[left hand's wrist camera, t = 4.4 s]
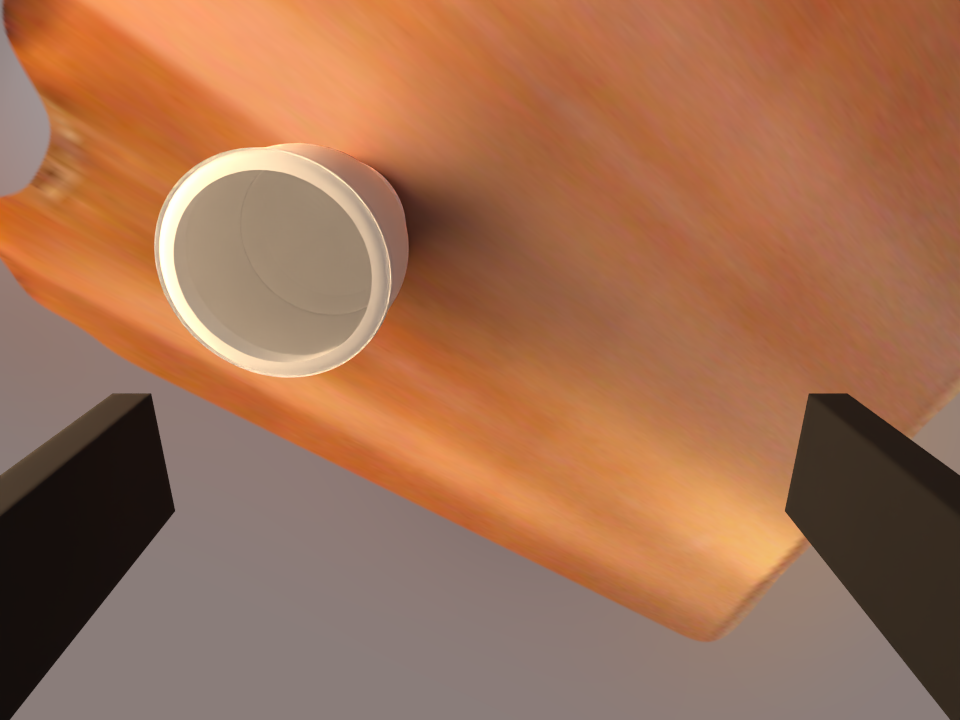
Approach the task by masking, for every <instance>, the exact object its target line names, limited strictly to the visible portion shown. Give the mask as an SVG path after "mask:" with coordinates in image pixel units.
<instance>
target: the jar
mask: <svg viewBox="0 0 960 720" xmlns="http://www.w3.org/2000/svg"><path fill="white" fill-rule="evenodd" d="M154 251H155V262H156V268H157V273H158V277H159V280H160V283H161V286H162V289H163V291H164V294H165V296H166V298H167V300H168V302H169V304H170V306H171V308H172V309H173V311H174V313H175V314H176V316H177V317H178V318H179V320H180V321H181V323H182V324H183V325H184V326H185V327H186V329H187V330H188V331H189V332H190V333H191V334H192V335H193V336H194V337H195V338H196V339H197V340H198V341H199V342H200V343H201V344H202V345H204V346H205V347H206V348H207V349H209V350H210V351H211V352H213V353H214V354H216V355H217V356H219V357H221V358H222V359H224V360H226V361H228V362H229V363H231V364H233V365H236V366H238V367H240V368H243V369H245V370H248V371H251V372H255V373H258V374H263V375H268V376H274V377H304V376H311V375H315V374H319V373H323V372H326V371H328V370H331V369H333V368H336V367H338V366H340V365H342V364H343V363H345V362H347V361H348V360H350V359H351V358H352V357H354V356H355V355H356V354H357V353H359V352H360V351H361V350H362V349H363V348H364V347H365V346H366V345H367V344H368V343H369V342H370V341H371V339H372V338H373V337H374V336H375V334H376V333H377V331H378V330H379V328H380V327H381V325H382V323H383V321H384V319H385V317H386V314H387V312H388V309H389V308H390V306H391V305H392V303H393V302H394V300H395V298H396V297H397V295H398V293H399V291H400V288H401V286H402V283H403V280H404V277H405V274H406V269H407V264H408V255H409V243H408V233H407V228H406V220H405V214H404V210H403V206H402V204H401V201H400V199H399V197H398V195H397V193H396V191H395V190H394V188H393V187H392V186H391V184H390V183H389V182H388V181H387V180H386V179H385V178H384V177H383V176H382V175H381V174H380V173H379V172H377V171H376V170H375V169H373V168H372V167H370V166H368V165H366V164H364V163H362V162H360V161H358V160H357V159H355V158H353V157H351V156H349V155H347V154H345V153H343V152H340V151H338V150H335V149H332V148H329V147H325V146H320V145H315V144H306V143H288V144H279V145H274V146H269V147H259V148H242V149H235V150H230V151H226V152H223V153H220V154H217V155H215V156H212V157H210V158H208V159H206V160H204V161H202V162H201V163H199V164H197V165H196V166H194V167H193V168H192V169H190V170H189V171H188V172H187V173H186V174H185V175H184V176H183V177H182V178H181V179H180V180H179V181H178V182H177V183H176V184H175V186H174V187H173V188H172V190H171V191H170V193H169V194H168V196H167V198H166V200H165V202H164V204H163V206H162V209H161V211H160V214H159V217H158V221H157V225H156V231H155V242H154Z"/></svg>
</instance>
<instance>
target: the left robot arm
mask: <svg viewBox="0 0 960 720" xmlns="http://www.w3.org/2000/svg"><path fill="white" fill-rule="evenodd" d="M174 512H175V508H174V503H173V498H172V493H171V489H170V484H169V479H168V474H167V469H166V464H165V459H164V454H163V450H162V445H161V440H160V435H159V430H158V425H157V420H156V415H155V410H154V405H153V401H152V396H151V394H111V395H110V396H109V397H107V398H106V399H105V400H103V401H102V402H101V403H99V404H98V405H96V406H95V407H94V408H92V409H91V410H89V411H88V412H87V413H85V414H84V415H83V416H81V417H80V418H78V419H77V420H76V421H74V422H73V423H72V424H70V425H69V426H67V427H66V428H65V429H63V430H62V431H61V432H59V433H58V434H57V435H55V436H54V437H52V438H51V439H50V440H48V441H47V442H46V443H44V444H43V445H41V446H40V447H39V448H37V449H36V450H35V451H33V452H32V453H30V454H29V455H28V456H26V457H25V458H24V459H22V460H21V461H20V462H18V463H17V464H15V465H14V466H13V467H11V468H10V469H8V470H7V471H6V472H4V473H3V474H2V475H0V720H10V719H11V717H12V716H13V715H14V714H15V712H16V711H17V710H18V709H19V707H20V706H21V705H22V704H23V702H24V701H25V700H26V699H27V697H28V696H29V695H30V693H31V692H32V691H33V690H34V688H35V687H36V686H37V685H38V683H39V682H40V681H41V680H42V678H43V677H44V676H45V675H46V673H47V672H48V671H49V669H50V668H51V667H52V666H53V664H54V663H55V662H56V661H57V659H58V658H59V657H60V656H61V654H62V653H63V652H64V651H65V649H66V648H67V647H68V645H69V644H70V643H71V642H72V640H73V639H74V638H75V637H76V635H77V634H78V633H79V632H80V630H81V629H82V628H83V627H84V625H85V624H86V623H87V622H88V620H89V619H90V618H91V616H92V615H93V614H94V613H95V611H96V610H97V609H98V608H99V606H100V605H101V604H102V603H103V601H104V600H105V599H106V598H107V596H108V595H109V594H110V593H111V591H112V590H113V589H114V587H115V586H116V585H117V584H118V582H119V581H120V580H121V579H122V577H123V576H124V575H125V574H126V572H127V571H128V570H129V569H130V567H131V566H132V565H133V563H134V562H135V561H136V560H137V558H138V557H139V556H140V555H141V553H142V552H143V551H144V550H145V548H146V547H147V546H148V545H149V543H150V542H151V541H152V539H153V538H154V537H155V536H156V534H157V533H158V532H159V531H160V529H161V528H162V527H163V526H164V524H165V523H166V522H167V521H168V519H169V518H170V517H171V515H172V514H173V513H174ZM785 512H786V513H787V514H788V516H789V517H790V518H791V519H792V521H793V522H794V523H795V524H796V526H797V527H798V528H799V529H800V531H801V532H802V533H803V534H804V536H805V537H806V538H807V539H808V541H809V542H810V543H811V545H812V546H813V547H814V548H815V550H816V551H817V552H818V553H819V555H820V556H821V557H822V558H823V560H824V561H825V562H826V563H827V565H828V566H829V567H830V568H831V570H832V571H833V572H834V574H835V575H836V576H837V577H838V579H839V580H840V581H841V582H842V584H843V585H844V586H845V587H846V589H847V590H848V591H849V593H850V594H851V595H852V596H853V598H854V599H855V600H856V601H857V603H858V604H859V605H860V606H861V608H862V609H863V610H864V611H865V613H866V614H867V615H868V616H869V618H870V619H871V620H872V621H873V623H874V624H875V625H876V627H877V628H878V629H879V630H880V632H881V633H882V634H883V635H884V637H885V638H886V639H887V640H888V642H889V643H890V644H891V646H892V647H893V648H894V649H895V651H896V652H897V653H898V654H899V656H900V657H901V658H902V659H903V661H904V662H905V663H906V664H907V666H908V667H909V668H910V670H911V671H912V672H913V673H914V675H915V676H916V677H917V678H918V680H919V681H920V682H921V683H922V685H923V686H924V687H925V688H926V690H927V691H928V692H929V693H930V695H931V696H932V697H933V699H934V700H935V701H936V702H937V704H938V705H939V706H940V707H941V709H942V710H943V711H944V712H945V714H946V715H947V716H948V717H949V719H950V720H960V475H958V474H957V473H956V472H954V471H953V470H952V469H950V468H949V467H947V466H946V465H945V464H943V463H942V462H941V461H939V460H938V459H936V458H935V457H934V456H932V455H931V454H929V453H928V452H927V451H925V450H924V449H923V448H921V447H920V446H919V445H917V444H916V443H914V442H913V441H912V440H910V439H909V438H908V437H906V436H905V435H903V434H902V433H901V432H899V431H898V430H897V429H895V428H894V427H893V426H891V425H890V424H888V423H887V422H886V421H884V420H883V419H882V418H880V417H879V416H877V415H876V414H875V413H873V412H872V411H871V410H869V409H868V408H866V407H865V406H864V405H862V404H861V403H860V402H858V401H857V400H855V399H854V398H853V397H851V396H850V395H849V394H809V396H808V401H807V405H806V410H805V415H804V420H803V425H802V430H801V435H800V440H799V445H798V449H797V454H796V459H795V464H794V469H793V474H792V479H791V484H790V489H789V493H788V498H787V503H786V508H785Z"/></svg>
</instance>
